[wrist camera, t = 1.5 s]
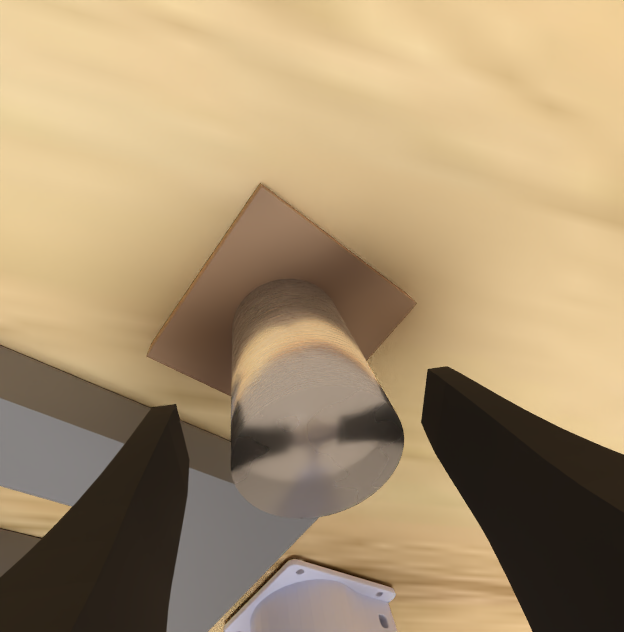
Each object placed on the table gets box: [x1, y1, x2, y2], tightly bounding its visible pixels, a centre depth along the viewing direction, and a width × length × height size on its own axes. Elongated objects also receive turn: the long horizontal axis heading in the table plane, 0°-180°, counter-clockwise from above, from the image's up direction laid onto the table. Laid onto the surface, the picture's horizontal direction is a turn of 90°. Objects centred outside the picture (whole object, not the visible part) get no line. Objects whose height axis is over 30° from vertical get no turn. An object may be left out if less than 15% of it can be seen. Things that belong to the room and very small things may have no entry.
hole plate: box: [0, 345, 319, 632], centre depth 18 cm, size 18×14×3 cm
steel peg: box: [231, 279, 404, 519], centre depth 13 cm, size 4×4×7 cm
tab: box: [147, 183, 417, 396], centre depth 16 cm, size 8×8×1 cm
